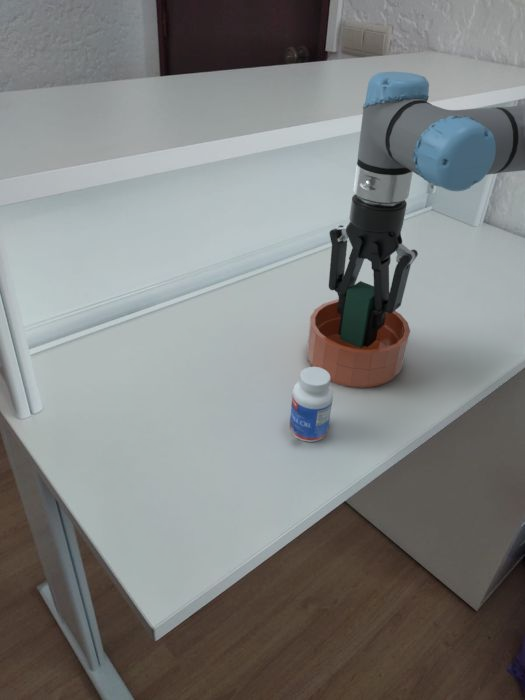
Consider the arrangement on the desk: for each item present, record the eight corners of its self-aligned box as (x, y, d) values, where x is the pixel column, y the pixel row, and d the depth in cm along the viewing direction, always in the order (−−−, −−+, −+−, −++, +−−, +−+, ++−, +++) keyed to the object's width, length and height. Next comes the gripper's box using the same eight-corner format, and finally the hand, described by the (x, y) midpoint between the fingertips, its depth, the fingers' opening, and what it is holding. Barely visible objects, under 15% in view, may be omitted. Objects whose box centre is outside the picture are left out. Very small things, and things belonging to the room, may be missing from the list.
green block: (373, 337, 94) (382, 289, 88) (361, 348, 91) (369, 299, 86) (352, 328, 96) (360, 280, 90) (339, 338, 93) (346, 290, 88)
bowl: (418, 357, 97) (426, 321, 93) (371, 402, 87) (378, 365, 83) (339, 323, 104) (344, 289, 100) (287, 361, 94) (290, 325, 90)
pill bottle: (281, 427, 81) (285, 372, 76) (308, 411, 84) (314, 357, 79) (308, 449, 78) (315, 393, 73) (335, 431, 81) (344, 377, 76)
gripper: (313, 188, 81) (300, 327, 95) (424, 222, 73) (393, 369, 87) (342, 175, 86) (325, 309, 100) (449, 205, 78) (415, 347, 91)
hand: (357, 336), depth 93 cm, fingers closed on green block, 4 cm apart
